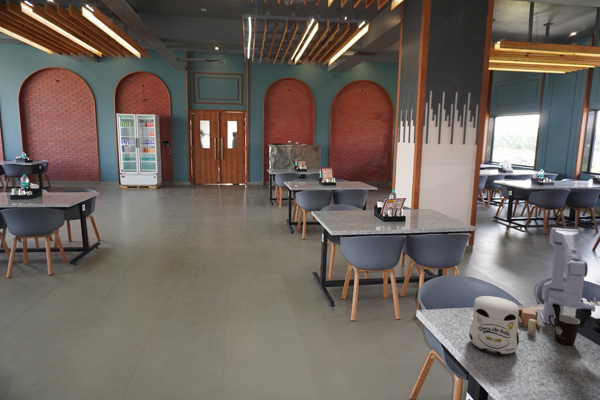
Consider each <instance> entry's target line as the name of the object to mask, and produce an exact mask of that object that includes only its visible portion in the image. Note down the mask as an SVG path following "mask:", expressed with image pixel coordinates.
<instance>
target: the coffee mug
mask: <svg viewBox="0 0 600 400" xmlns="http://www.w3.org/2000/svg"><path fill="white" fill-rule="evenodd" d="M551 317H554V324H555V325H554V324H552V322H551V320H550V318H551ZM549 322H550V323H551V324H550V326H551V327H552V328H553V329H554V341H555V342H556V343H557V344H559V345H561V346H565V347H573V346H574V345H575V342H576V339H577V335H578V331H579V328H580V326H579V324H580V319H578V318H576V317H574V316H571V315H568V314H563V315H562V314H560V316H559V324H557V323H556V317H555V316H554V315H550V316H549Z"/></svg>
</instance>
